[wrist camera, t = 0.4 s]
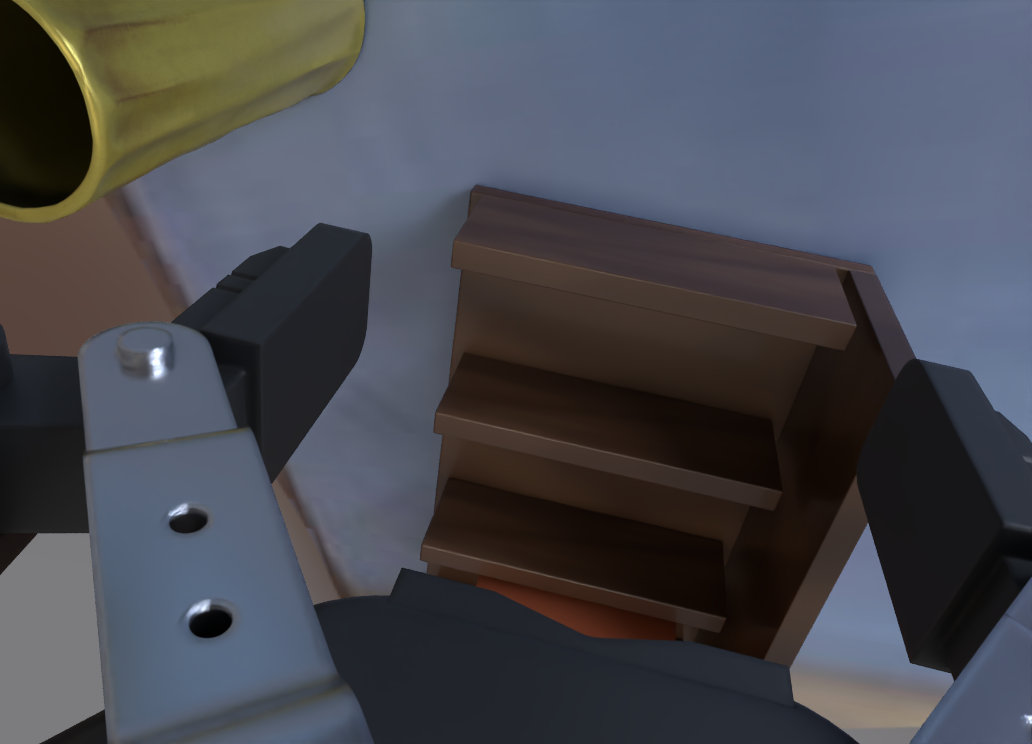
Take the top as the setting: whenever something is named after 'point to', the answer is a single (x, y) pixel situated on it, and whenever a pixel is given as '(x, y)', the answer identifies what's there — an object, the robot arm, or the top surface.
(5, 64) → the vase
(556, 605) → the terracotta rectangular prism
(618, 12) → the top surface
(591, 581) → the rack
